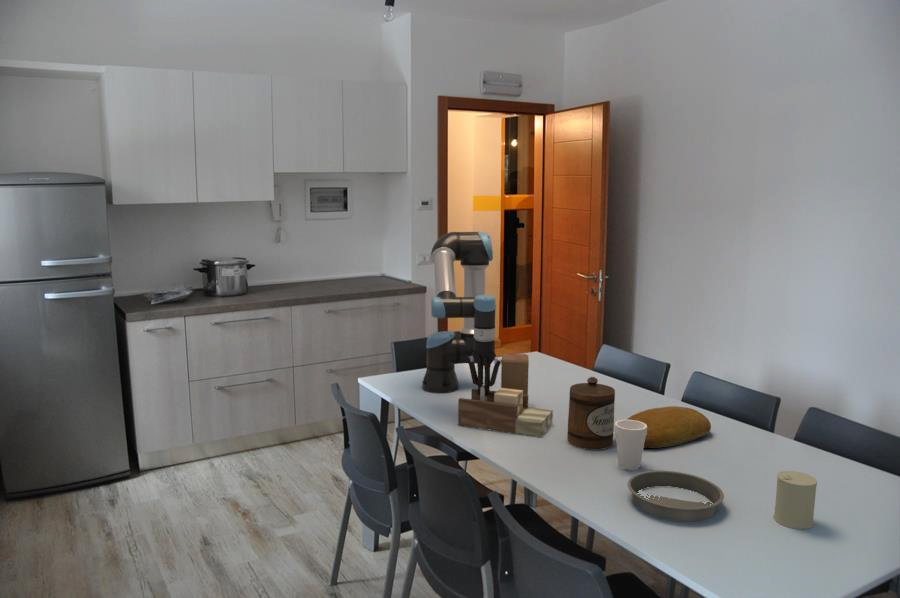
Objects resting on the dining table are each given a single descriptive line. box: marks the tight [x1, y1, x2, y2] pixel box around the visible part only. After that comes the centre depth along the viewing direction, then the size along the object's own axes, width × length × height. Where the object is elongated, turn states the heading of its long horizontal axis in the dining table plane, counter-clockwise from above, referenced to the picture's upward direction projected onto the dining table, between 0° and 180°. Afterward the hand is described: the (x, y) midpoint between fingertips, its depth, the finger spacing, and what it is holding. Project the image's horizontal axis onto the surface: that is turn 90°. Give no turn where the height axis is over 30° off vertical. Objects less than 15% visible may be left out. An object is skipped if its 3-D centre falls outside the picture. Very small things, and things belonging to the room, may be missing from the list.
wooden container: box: [566, 376, 616, 450], centre depth 235 cm, size 15×15×22 cm
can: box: [772, 470, 818, 530], centre depth 181 cm, size 9×9×12 cm
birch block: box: [494, 387, 523, 414], centre depth 251 cm, size 8×8×7 cm
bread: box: [626, 405, 712, 449], centre depth 241 cm, size 18×35×10 cm, turn 119°
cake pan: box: [627, 470, 725, 522], centre depth 192 cm, size 25×25×4 cm
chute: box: [457, 387, 554, 438], centre depth 252 cm, size 15×30×10 cm, turn 68°
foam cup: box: [614, 419, 647, 471], centre depth 216 cm, size 10×9×13 cm
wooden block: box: [500, 353, 530, 396], centre depth 271 cm, size 10×10×20 cm
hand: (483, 404), depth 255 cm, fingers closed
